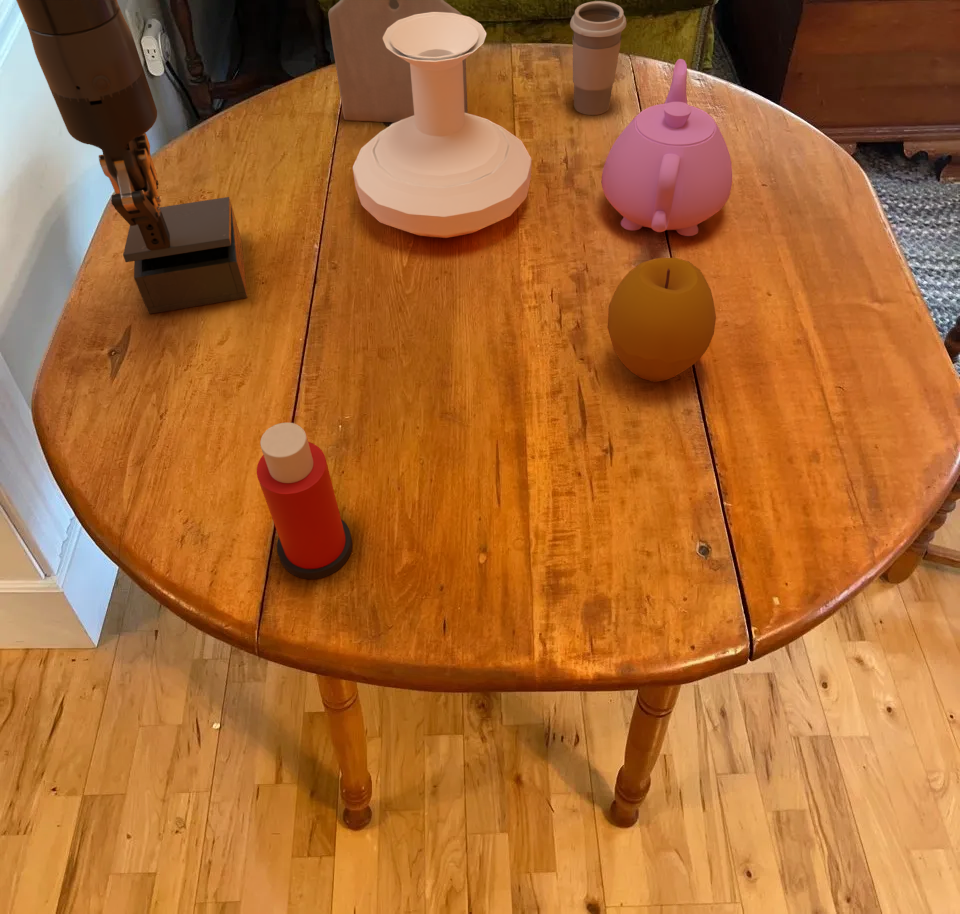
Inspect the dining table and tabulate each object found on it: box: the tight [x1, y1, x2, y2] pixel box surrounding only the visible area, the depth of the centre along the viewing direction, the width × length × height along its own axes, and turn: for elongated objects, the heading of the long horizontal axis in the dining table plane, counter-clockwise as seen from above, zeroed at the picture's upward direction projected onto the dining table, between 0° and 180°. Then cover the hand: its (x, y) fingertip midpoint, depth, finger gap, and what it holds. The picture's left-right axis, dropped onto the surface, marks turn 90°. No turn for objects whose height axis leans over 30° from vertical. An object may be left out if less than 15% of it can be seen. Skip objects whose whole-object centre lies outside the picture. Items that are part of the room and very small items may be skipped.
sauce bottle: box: [256, 422, 346, 569], centre depth 66 cm, size 5×5×13 cm
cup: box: [569, 0, 627, 116], centre depth 109 cm, size 7×7×12 cm
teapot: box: [600, 58, 733, 237], centre depth 95 cm, size 20×14×12 cm
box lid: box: [122, 196, 232, 263], centre depth 89 cm, size 11×10×1 cm
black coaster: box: [276, 518, 353, 580], centre depth 71 cm, size 6×6×1 cm
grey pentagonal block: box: [327, 0, 469, 124], centre depth 107 cm, size 16×8×19 cm, turn 83°
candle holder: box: [351, 12, 533, 239], centre depth 94 cm, size 20×20×19 cm
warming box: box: [133, 204, 248, 315], centre depth 92 cm, size 10×10×5 cm
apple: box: [606, 257, 717, 383], centre depth 79 cm, size 10×10×12 cm
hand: (159, 244), depth 84 cm, fingers closed
